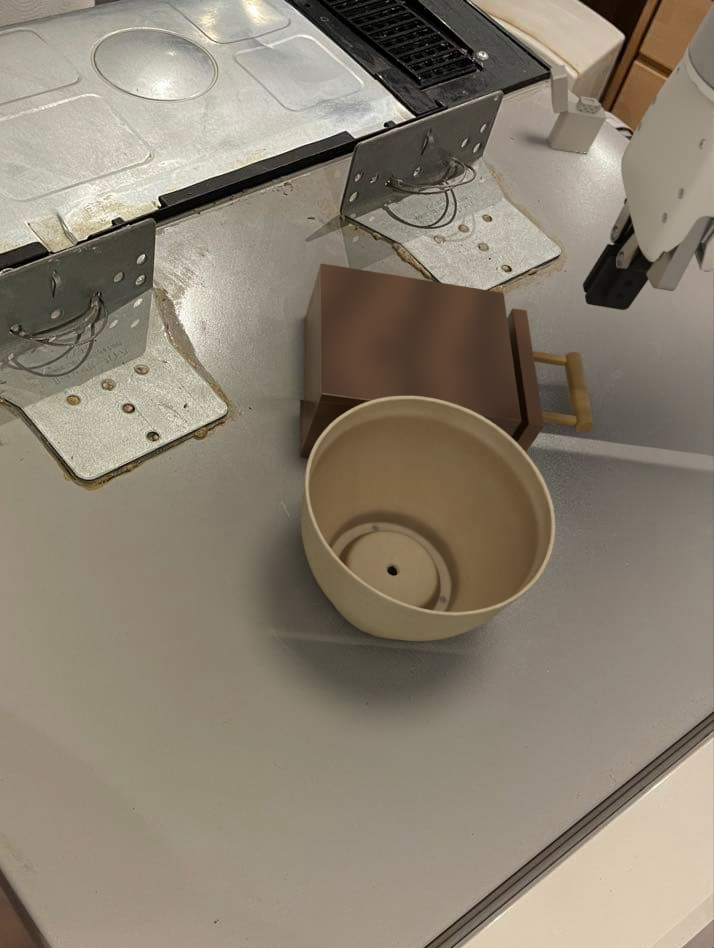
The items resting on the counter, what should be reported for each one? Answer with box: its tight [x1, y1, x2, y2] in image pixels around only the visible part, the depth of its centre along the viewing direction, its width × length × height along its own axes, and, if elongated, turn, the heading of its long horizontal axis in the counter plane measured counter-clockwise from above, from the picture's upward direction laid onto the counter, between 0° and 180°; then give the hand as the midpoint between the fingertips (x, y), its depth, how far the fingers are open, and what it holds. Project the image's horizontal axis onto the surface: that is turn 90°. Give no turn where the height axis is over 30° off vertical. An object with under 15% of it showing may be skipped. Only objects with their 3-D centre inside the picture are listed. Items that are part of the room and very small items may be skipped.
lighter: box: [547, 64, 607, 154], centre depth 98 cm, size 7×2×8 cm, turn 92°
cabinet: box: [299, 263, 521, 459], centre depth 76 cm, size 15×13×8 cm
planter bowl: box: [300, 396, 556, 642], centre depth 66 cm, size 16×16×11 cm
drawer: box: [507, 308, 595, 453], centre depth 76 cm, size 19×11×6 cm, turn 90°
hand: (604, 298), depth 69 cm, fingers closed
